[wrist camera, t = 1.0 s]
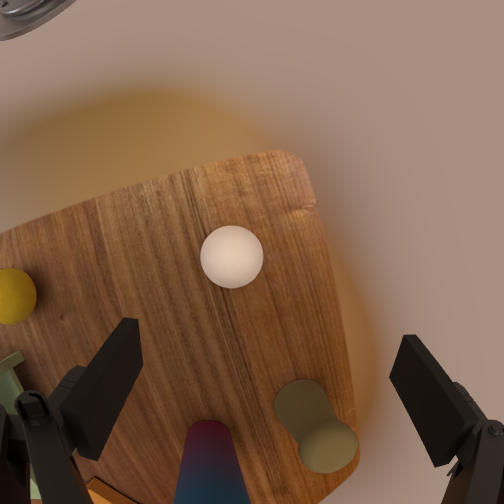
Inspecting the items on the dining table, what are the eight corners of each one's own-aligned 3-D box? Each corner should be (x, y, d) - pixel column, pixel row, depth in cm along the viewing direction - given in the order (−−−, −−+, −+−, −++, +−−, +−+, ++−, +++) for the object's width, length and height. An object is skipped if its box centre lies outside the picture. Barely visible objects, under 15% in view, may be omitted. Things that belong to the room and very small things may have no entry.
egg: (245, 220, 31) (257, 211, 23) (264, 271, 31) (281, 279, 24) (193, 238, 30) (188, 236, 23) (212, 290, 30) (213, 305, 23)
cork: (277, 429, 32) (303, 490, 21) (269, 386, 31) (296, 442, 20) (327, 416, 32) (367, 469, 22) (323, 372, 32) (367, 419, 21)
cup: (246, 420, 31) (271, 515, 16) (230, 463, 31) (245, 557, 16) (185, 407, 30) (175, 503, 15) (173, 452, 30) (163, 547, 15)
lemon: (54, 308, 28) (16, 325, 20) (20, 320, 28) (-21, 337, 20) (40, 259, 28) (-2, 262, 20) (6, 273, 27) (-37, 279, 19)
